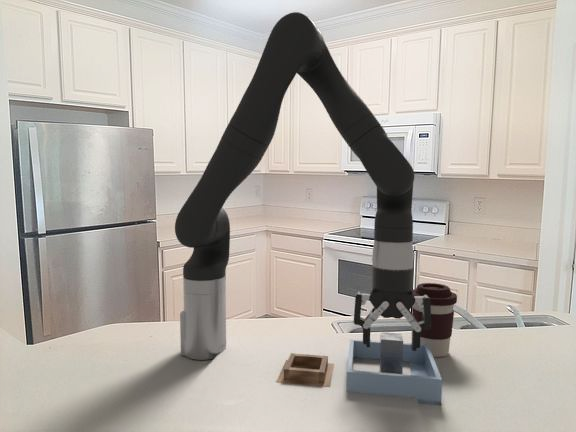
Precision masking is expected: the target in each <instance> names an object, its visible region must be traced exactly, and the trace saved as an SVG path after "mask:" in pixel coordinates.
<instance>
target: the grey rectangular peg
mask: <svg viewBox="0 0 576 432" xmlns="http://www.w3.org/2000/svg"><path fill="white" fill-rule="evenodd" d="M403 338H404V337H403V334H402V333H399V332H383V331H380V338H379V339H380V340H379V341H380V359H379V372H380V373H392V374H404V372H403V369H404V365H403V363H404V361H403V343H404V339H403Z"/></svg>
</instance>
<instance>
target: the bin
mask: <svg viewBox="0 0 576 432" xmlns="http://www.w3.org/2000/svg"><path fill="white" fill-rule="evenodd" d="M411 343H412V342H411ZM411 343H410V342H403V362H408V367H409V370H410V374H405V373H403V374H392V373H380V371H377V372H376V371H369V370H368V371H367V370H366V371H365V370H355V369H354V358H358V359H359V358H360V359H371V360H373V359H374V360H380V340H370V348H368V347H366V344H364V343H363V339H351V338H350V339H349V347H348V357H347V358H348V359H347V366H346V367H347V369H346V392H351V393H354V392H355V393H361V394H372V395H373V394H375V395H384V396H385V395H386V396H393V397H394V396H396V397H407V398H415V399H417V403H418V404H424V405H433V406H435V405H437V406H442V396H443V395H442V392H443V378H442V375H441V374H440V371H439V368H438V366H437V364H436V361H435V357H433V356H432V353H431V351H430V348H429V346H428V345H427V344H420V347H419V348H417V350H416V351H412V347H411Z"/></svg>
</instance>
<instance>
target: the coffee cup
mask: <svg viewBox="0 0 576 432" xmlns="http://www.w3.org/2000/svg"><path fill="white" fill-rule="evenodd" d="M413 295H414V296H423V295H427V296H428V297H429V299H430V301H431V329H429V330H428V329H425V330H422V331H421V335H420V344H427V345H428V346H429V348H430V351H431V353H432V356H433V358H441V357H442V358H443V357H446V356H448V354H449V352H450V344H451V337H452V334H453V327H454V326H453V325H454V315H455V310H454V305H456V304H457V302H458V294H456V293H455V292H453V291H451V288H450V287H449V286H448V285H446V284H441V283H433V282H424V283H423V282H422V283H419V284H417V285H416V288H413ZM411 313H412V314H413V316H414V317H415V318H416V320H417V321H418V322H420V321H423V311H422V308H420V307H419V305H418V303H416V302H415V304H414V305H413V306H412V307H411Z"/></svg>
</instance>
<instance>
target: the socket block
mask: <svg viewBox="0 0 576 432" xmlns="http://www.w3.org/2000/svg"><path fill="white" fill-rule="evenodd" d="M334 368H335V363H332V362H331V363H329V355H320V354H319V355H317V354H307V353H306V354H304V353H294V352H293V353H292V352H291V353H290V355H289V356H288V359H286V360H285V362H284V363H283V366H282V368H281V370H280V373H279V375H278V377H277V378H276V382H275V383H281V384H291V385H292V384H294V385H302V386H303V385H304V386H315V387H316V386H317V387H326V388H331V383H332V378H333V373H334Z"/></svg>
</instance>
